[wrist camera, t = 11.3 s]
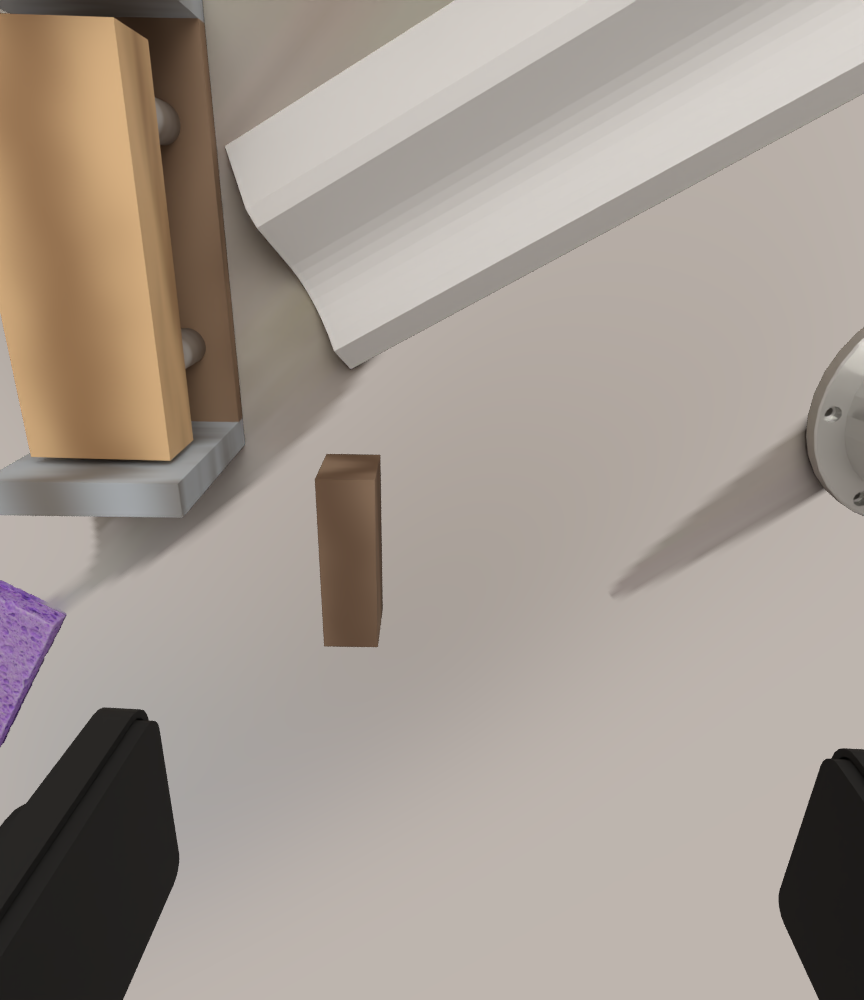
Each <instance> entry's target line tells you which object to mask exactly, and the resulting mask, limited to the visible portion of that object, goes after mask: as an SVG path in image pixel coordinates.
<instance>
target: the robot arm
mask: <svg viewBox="0 0 864 1000" xmlns="http://www.w3.org/2000/svg"><path fill="white" fill-rule="evenodd" d="M827 410H828V411H827ZM826 411H827V412H826ZM806 440H807V449H808V457H809V459H810V462H811V465H812V468H813V470H814V473H815V475H816V477H817V478H818V480H819V481H820V483H821V484H822V486H823V487H824V489H825V490H826V491H827V492H829V493H830V494H831V495H832V496H833V497H834V498H835V499H836V500H837V501H838V502H840V503H841V504H843V505H844V506H846V507H847V508H848V509H850V510H852V511H853V512H856V513H858V514H860V515H862V516H864V328H863V329H861V330H860V331H859V332H858V333H856V334H855V335H854V337H853V338H852V339H851V340H850V341H849V342H848V343H847V344H846V345H845V346H844V347H843V348H842V349H841V350H840V351H839V352H838V354H837V355H836V357H835V358H834V360H833V361H832V363H831V364H830V366H829V367H828V368H827V370H826V371H825V372H824V375H823V377H822V379H821V381H820V383H819V385H818V387H817V389H816V391H815V393H814V396H813V400H812V403H811V407H810V410H809V414H808V420H807V431H806ZM178 866H179V851H178V845H177V839H176V832H175V825H174V819H173V813H172V806H171V800H170V794H169V787H168V781H167V774H166V768H165V762H164V756H163V749H162V743H161V736H160V731H159V726H158V724H157V722H156V721H149V720H148V717H147V714H146V713H145V711H144V710H140V709H121V708H102V709H99V710H98V711H97V712H96V713H95V714H94V715H93V716H92V717H91V719H90V720H89V721H88V723H87V724H86V725H85V727H84V728H83V729H82V731H81V732H80V733H79V735H78V736H77V737H76V738H75V740H74V741H73V742H72V744H71V745H70V746H69V748H68V749H67V750H66V752H65V753H64V754H63V756H62V757H61V758H60V760H59V761H58V762H57V764H56V765H55V766H54V767H53V769H52V770H51V772H50V773H49V774H48V775H47V777H46V778H45V779H44V781H43V782H42V783H41V785H40V786H39V787H38V789H37V790H36V791H35V793H34V794H33V795H32V796H31V798H30V799H29V801H28V802H27V803H26V804H24V805H23V806H21V807H19V808H17V809H16V810H14V811H13V812H12V813H11V815H10V816H9V817H8V818H7V819H6V820H5V821H4V823H3V824H2V825H1V826H0V1000H123V998H124V996H125V994H126V991H127V989H128V987H129V984H130V982H131V980H132V978H133V976H134V973H135V971H136V969H137V967H138V964H139V962H140V960H141V957H142V955H143V953H144V951H145V948H146V946H147V944H148V942H149V939H150V937H151V935H152V932H153V930H154V928H155V926H156V923H157V921H158V919H159V916H160V914H161V912H162V910H163V907H164V905H165V903H166V900H167V898H168V896H169V894H170V891H171V889H172V887H173V885H174V882H175V879H176V876H177V872H178ZM779 908H780V912H781V917H782V919H783V922H784V925H785V927H786V929H787V931H788V933H789V936H790V938H791V940H792V942H793V944H794V946H795V949H796V951H797V953H798V955H799V957H800V959H801V961H802V964H803V966H804V968H805V970H806V972H807V975H808V977H809V979H810V981H811V983H812V985H813V987H814V990H815V992H816V994H817V996H818V998H819V1000H864V750H863V749H838V750H837V751H836V752H835V753H834V755H833V757H832V759H825V760H824V761H823V762H822V764H821V766H820V770H819V773H818V776H817V779H816V782H815V785H814V788H813V791H812V794H811V797H810V800H809V803H808V806H807V809H806V812H805V815H804V818H803V821H802V824H801V827H800V830H799V833H798V836H797V839H796V842H795V845H794V849H793V851H792V854H791V857H790V860H789V863H788V867H787V869H786V873H785V876H784V879H783V882H782V885H781V888H780V891H779Z"/></svg>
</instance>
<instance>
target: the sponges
mask: <svg viewBox="0 0 864 1000" xmlns="http://www.w3.org/2000/svg"><path fill="white" fill-rule="evenodd" d="M42 602H44V600H42V599H40V598H38V597H36V596H34V595H32V594H29V593H27V592H25V591H23V590H22V589H20V588H16V587H14V586H13V585H11V584H8V583H7V582H4V581H2V580H0V747H1V745H2V744H3V743H4V742H5V740H6V738H7V735H8V733H9V731H10V727H11V726H12V725H13V723H14V721H15V719H16V717H17V715H18V713H19V711H20V709H21V706H22V704H23V703H24V700H25V698H26V696H27V694H28V692H29V690H30V688H31V686H32V683H33V681H34V679H35V677H36V676H37V674H38V672H39V669H40V667H41V665H42V664H43V662H44V657H45V655H46V654H47V653H48V652H49V649H50V648H51V646H52V644H53V642H54V639H55V637H56V636H57V633H58V632H59V630H60V628H61V625H62V624H63V621H64V619H65V617H66V616H67V614H66V613H65V612H64V613H60V612H58V611H56V610H54V609H52V608H50V607H47V606H45V605H43V604H41V603H42Z"/></svg>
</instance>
